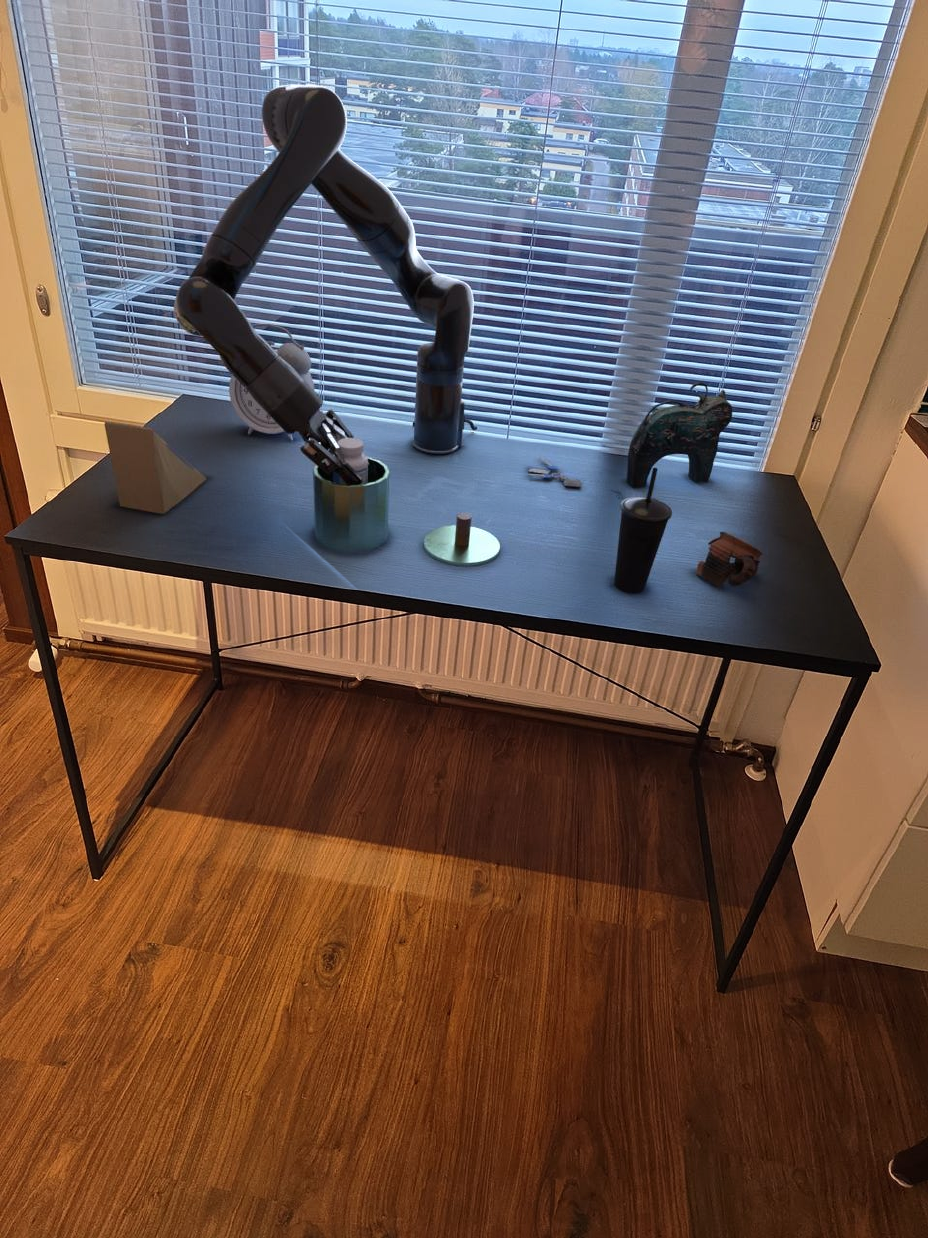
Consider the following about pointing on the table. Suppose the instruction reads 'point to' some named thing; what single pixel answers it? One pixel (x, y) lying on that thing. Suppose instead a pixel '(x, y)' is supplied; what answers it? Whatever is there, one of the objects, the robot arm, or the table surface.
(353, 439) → the pill bottle
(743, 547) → the brown wooden hut
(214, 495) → the table surface
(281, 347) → the alarm clock
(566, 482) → the key chain
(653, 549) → the drinking cup
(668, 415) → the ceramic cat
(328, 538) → the tin
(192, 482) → the sandwich container
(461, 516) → the lid
